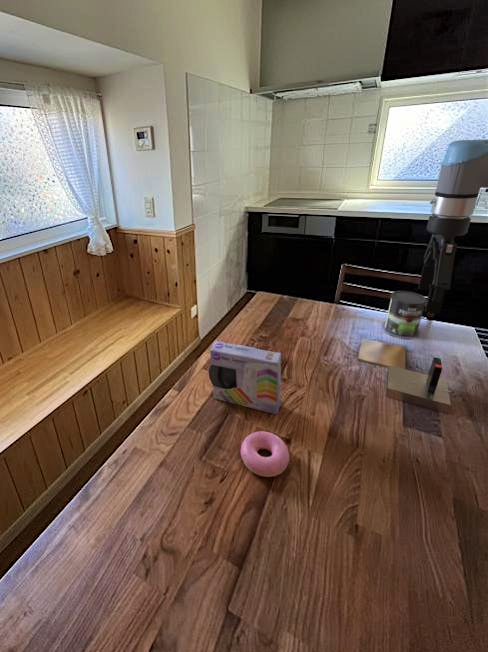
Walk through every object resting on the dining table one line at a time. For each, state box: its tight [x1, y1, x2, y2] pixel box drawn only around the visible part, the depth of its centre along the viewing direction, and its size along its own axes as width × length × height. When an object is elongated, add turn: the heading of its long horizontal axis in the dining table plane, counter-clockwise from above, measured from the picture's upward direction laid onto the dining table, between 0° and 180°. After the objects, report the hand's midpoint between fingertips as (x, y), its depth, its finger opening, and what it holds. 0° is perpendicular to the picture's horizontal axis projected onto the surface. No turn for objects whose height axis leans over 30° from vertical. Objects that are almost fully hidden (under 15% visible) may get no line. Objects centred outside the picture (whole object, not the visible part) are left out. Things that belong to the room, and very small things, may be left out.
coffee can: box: [384, 290, 427, 340], centre depth 119 cm, size 10×10×14 cm
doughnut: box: [240, 430, 290, 478], centre depth 77 cm, size 11×11×4 cm
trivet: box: [357, 337, 406, 369], centre depth 110 cm, size 13×13×1 cm
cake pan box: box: [208, 340, 282, 415], centre depth 91 cm, size 19×5×18 cm, turn 65°
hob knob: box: [427, 356, 443, 393], centre depth 90 cm, size 5×2×8 cm, turn 149°
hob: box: [385, 366, 452, 415], centre depth 93 cm, size 15×11×3 cm
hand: (427, 300), depth 84 cm, fingers open, 13 cm apart
